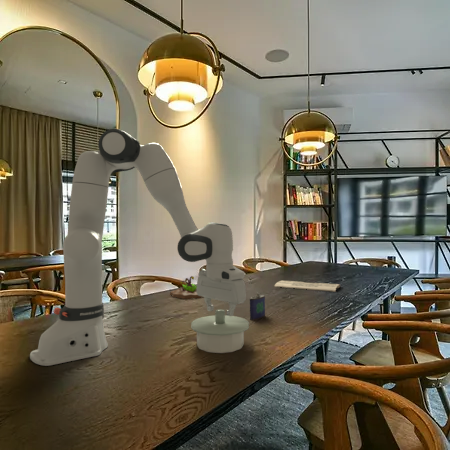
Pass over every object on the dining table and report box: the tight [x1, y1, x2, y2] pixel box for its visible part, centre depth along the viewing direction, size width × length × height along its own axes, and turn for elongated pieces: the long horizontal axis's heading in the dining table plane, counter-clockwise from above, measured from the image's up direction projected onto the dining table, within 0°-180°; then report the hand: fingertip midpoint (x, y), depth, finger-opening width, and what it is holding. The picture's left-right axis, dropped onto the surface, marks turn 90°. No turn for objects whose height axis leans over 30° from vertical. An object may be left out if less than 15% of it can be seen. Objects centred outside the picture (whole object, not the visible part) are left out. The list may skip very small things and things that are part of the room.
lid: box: [190, 309, 250, 335], centre depth 117 cm, size 19×19×5 cm
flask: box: [249, 292, 266, 321], centre depth 150 cm, size 9×3×11 cm, turn 138°
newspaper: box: [274, 280, 341, 293], centre depth 220 cm, size 37×19×3 cm, turn 64°
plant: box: [169, 275, 203, 300], centre depth 198 cm, size 20×20×11 cm
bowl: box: [196, 331, 245, 354], centre depth 117 cm, size 15×15×6 cm
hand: (219, 313), depth 117 cm, fingers open, 8 cm apart
